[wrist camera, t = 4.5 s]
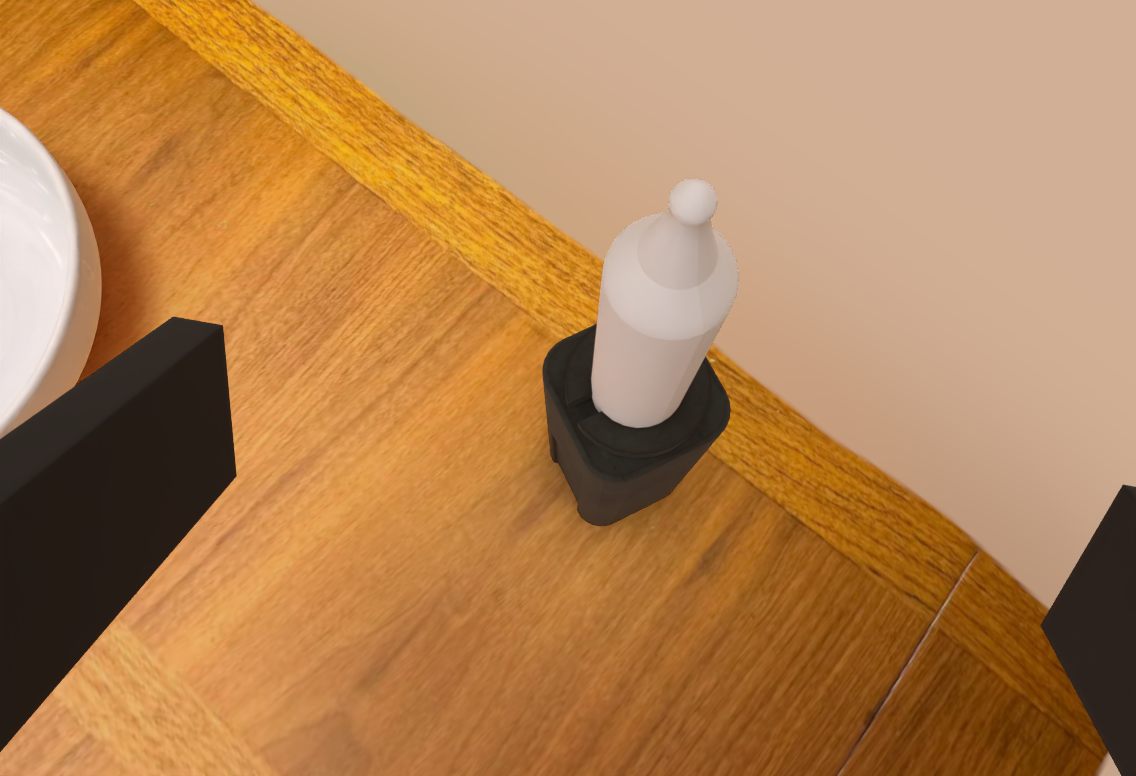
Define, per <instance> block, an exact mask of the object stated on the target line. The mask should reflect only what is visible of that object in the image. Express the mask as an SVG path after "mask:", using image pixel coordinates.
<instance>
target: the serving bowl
mask: <svg viewBox="0 0 1136 776" xmlns="http://www.w3.org/2000/svg"><path fill="white" fill-rule="evenodd" d="M101 295H102V278H101V266H100V257H99V251H98V246H97V242H96V239H95V235H94V231H93V228H92V225H91V222H90V220H89V217H88V214H87V212H86V210H85V207H84V205H83V203H82V201H81V199H80V197H79V195H78V193H77V191H76V189H75V188H74V186H73V184H72V183H71V181H70V179H69V178H68V176H67V175H66V173H65V172H64V170H63V169H62V168H61V166H60V165H59V164H58V162H57V161H56V160H55V158H54V157H53V156H52V155H51V153H50V152H49V151H48V149H47V148H46V147H45V146H44V144H43V143H42V142H41V141H40V140H39V139H38V138H37V137H36V136H35V135H34V134H33V133H32V132H31V131H30V130H29V129H28V128H27V127H26V126H25V125H24V124H23V123H21V122H20V121H19V120H17V119H16V118H15V117H14V116H12V115H11V114H9V113H8V112H6V111H5V110H4V109H2V108H1V107H0V439H1V438H2V437H4V436H5V435H7V434H8V433H9V432H11V431H12V430H14V429H15V428H16V427H18V426H19V425H21V424H22V423H24V422H25V421H26V420H28V419H29V418H31V417H32V416H33V415H35V414H36V413H38V412H39V411H40V410H42V409H43V408H45V407H46V406H48V405H49V404H50V403H52V402H53V401H55V400H56V399H57V398H59V397H60V396H62V395H63V394H65V393H66V392H67V391H69V390H70V389H72V388H73V387H74V386H75V385H76V383H77V381H78V379H79V377H80V375H81V373H82V371H83V368H84V366H85V364H86V362H87V359H88V356H89V354H90V351H91V348H92V345H93V341H94V338H95V334H96V330H97V326H98V321H99V315H100V306H101Z"/></svg>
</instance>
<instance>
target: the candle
mask: <svg viewBox="0 0 1136 776" xmlns="http://www.w3.org/2000/svg"><path fill="white" fill-rule="evenodd" d="M717 203H718V202H717V196H716V193H715V191H714V189H713V188H712V187H711V185H709V184H708V183H707V182H705V181H703V180H701V179H687V180H683V181H682V182H680V183H679V184H677V185H676V186H675V187H674V188H673V190H672V192H671V194H670V197H669V208H668V209H667V210H666V211H665V212H664V213H656V214H653V215H649V216H646V217H643V218H640V219H638V220H637V221H635V222H633V223H632V224H630V225H628V226H627V227H626V228H625V229H624V230H623V231H622V232H621V233H620V234H619V235H618V236H617V237H616V239H615V240H614V241H613V243H612V245H611V247H610V249H609V250H608V252H607V254H606V257H605V261H604V266H603V271H602V280H601V290H600V299H599V309H598V318H597V324H595V325H593V326H591V327H589V328H587V329H585V330H582V331H580V332H578V333H576V334H574V335H572V336H570V337H567V338H565V339H563V340H562V341H560V342H558V343H557V344H555V345H554V346H553V347H552V349H551V350H550V351H549V352H548V354H547V356H546V358H545V360H544V364H543V382H544V393H545V403H546V413H547V423H548V433H549V443H550V453H551V457H552V460H553V462H557V463H559V465H560V467H561V469H562V471H563V473H564V475H565V477H566V479H567V481H568V483H569V485H570V487H571V489H572V491H573V493H574V495H575V497H576V499H577V501H578V509H577V510H578V512H579V514H580V515H581V517H582V518H583V519H584V520H585V521H587V522H588V523H590V524H592V525H597V526H607V525H610V524H613V523H615V522H617V521H619V520H621V519H623V518H625V517H627V516H629V515H631V514H633V513H635V512H637V511H639V510H641V509H643V508H645V507H647V506H649V505H651V504H653V503H655V502H657V501H659V500H661V499H663V498H665V497H666V496H668V495H669V494H670V493H671V492H672V491H673V490H674V488H675V487H676V486H677V485H678V484H679V482H680V481H681V480H682V479H683V478H684V477H685V475H686V474H687V473H688V472H689V471H690V469H691V468H692V467H693V466H694V465H695V464H696V462H697V461H698V460H699V459H700V458H701V456H702V455H703V454H704V453H705V452H706V451H707V449H708V448H709V447H710V446H711V445H712V443H713V442H714V441H715V440H716V439H717V438H718V436H719V435H720V434H721V433H722V432H723V430H724V429H725V428H726V426H727V424H728V421H729V418H730V411H731V410H730V402H729V399H728V396H727V394H726V391H725V390H724V388H723V386H722V384H721V383H720V381H719V379H718V377H717V375H716V374H715V372H714V370H713V368H712V367H711V365H710V363H709V361H708V360H707V358H706V354H707V352H708V351H709V349H710V347H711V345H712V343H713V341H714V339H715V337H716V336H717V334H718V332H719V330H720V328H721V326H722V324H723V322H724V321H725V319H726V317H727V315H728V313H729V311H730V309H731V307H732V305H733V303H734V300H735V298H736V295H737V289H738V282H739V275H738V267H737V261H736V258H735V256H734V254H733V251H732V249H731V246H730V245H729V243H728V242H727V241H726V240H725V239H724V237H723V236H722V235H721V234H720V232H719V231H717V230H716V229H714V228H713V227H712V225H711V221H710V219H711V217H713V215H714V213H715V211H716V208H717Z"/></svg>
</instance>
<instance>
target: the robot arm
mask: <svg viewBox="0 0 1136 776" xmlns="http://www.w3.org/2000/svg"><path fill="white" fill-rule="evenodd" d="M235 477H236V465H235V454H234V443H233V432H232V421H231V410H230V399H229V387H228V376H227V365H226V354H225V343H224V332H223V325H218V324H212V323H206V322H201V321H195V320H189V319H184V318H178V317H172V318H171V319H169V320H168V321H166V322H165V323H163V324H162V325H161V326H159V327H158V328H156V329H155V330H154V331H152V332H151V333H149V334H148V335H146V336H145V337H144V338H142V339H141V340H139V341H138V342H137V343H135V344H134V345H132V346H131V347H130V348H128V349H127V350H125V351H124V352H122V353H121V354H120V355H118V356H117V357H115V358H114V359H113V360H111V361H110V362H108V363H107V364H106V365H104V366H103V367H101V368H100V369H98V370H97V371H96V372H94V373H93V374H91V375H90V376H89V377H87V378H86V379H84V380H83V381H81V382H80V383H79V384H77V385H76V386H74V387H73V388H72V389H70V390H69V391H67V392H66V393H65V394H63V395H62V396H60V397H59V398H57V399H56V400H55V401H53V402H52V403H50V404H49V405H48V406H46V407H45V408H43V409H42V410H40V411H39V412H38V413H36V414H35V415H33V416H32V417H31V418H29V419H28V420H26V421H25V422H24V423H22V424H21V425H19V426H18V427H16V428H15V429H14V430H12V431H11V432H9V433H8V434H7V435H5V436H4V437H2V438H1V439H0V752H1V751H2V749H3V748H4V747H5V746H6V745H7V744H8V742H9V741H10V740H11V739H12V738H13V737H14V735H15V734H16V733H17V732H18V731H19V730H20V728H21V727H22V726H23V725H24V724H25V723H26V721H27V720H28V719H29V718H30V717H31V716H32V714H33V713H34V712H35V711H36V710H37V709H38V707H39V706H40V705H41V704H42V703H43V702H44V700H45V699H46V698H47V697H48V696H49V695H50V693H51V692H52V691H53V690H54V689H55V688H56V686H57V685H58V684H59V683H60V682H61V681H62V679H63V678H64V677H65V676H66V675H67V674H68V672H69V671H70V670H71V669H72V668H73V667H74V665H75V664H76V663H77V662H78V661H79V660H80V658H81V657H82V656H83V655H84V654H85V653H86V651H87V650H88V649H89V648H90V647H91V646H92V644H93V643H94V642H95V641H96V640H97V638H98V637H99V636H100V635H101V634H102V633H103V631H104V630H105V629H106V628H107V627H108V626H109V624H110V623H111V622H112V621H113V620H114V619H115V617H116V616H117V615H118V614H119V613H120V612H121V610H122V609H123V608H124V607H125V606H126V605H127V603H128V602H129V601H130V600H131V599H132V598H133V596H134V595H135V594H136V593H137V592H138V591H139V589H140V588H141V587H142V586H143V585H144V584H145V582H146V581H147V580H148V579H149V578H150V577H151V575H152V574H153V573H154V572H155V571H156V570H157V568H158V567H159V566H160V565H161V564H162V563H163V561H164V560H165V559H166V558H167V557H168V556H169V554H170V553H171V552H172V551H173V550H174V549H175V547H176V546H177V545H178V544H179V543H180V542H181V540H182V539H183V538H184V537H185V536H186V535H187V533H188V532H189V531H190V530H191V529H192V528H193V526H194V525H195V524H196V523H197V522H198V521H199V519H200V518H201V517H202V516H203V515H204V514H205V512H206V511H207V510H208V509H209V508H210V507H211V505H212V504H213V503H214V502H215V501H216V500H217V498H218V497H219V496H220V495H221V494H222V493H223V491H224V490H225V489H226V488H227V487H228V486H229V484H230V483H231V482H232V481H233V480H234V478H235ZM1040 626H1041V627H1042V629H1043V631H1044V633H1045V635H1046V637H1047V639H1048V640H1049V642H1050V644H1051V646H1052V648H1053V650H1054V652H1055V653H1056V655H1057V657H1058V659H1059V661H1060V663H1061V664H1062V666H1063V668H1064V670H1065V672H1066V674H1067V676H1068V677H1069V679H1070V681H1071V683H1072V685H1073V687H1074V689H1075V690H1076V692H1077V694H1078V696H1079V698H1080V700H1081V702H1082V703H1083V705H1084V707H1085V709H1086V711H1087V713H1088V715H1089V716H1090V718H1091V720H1092V722H1093V724H1094V726H1095V728H1096V729H1097V731H1098V733H1099V735H1100V737H1101V739H1102V741H1103V742H1104V744H1105V746H1106V748H1107V750H1108V752H1109V754H1110V755H1111V757H1112V759H1113V761H1114V763H1115V765H1116V767H1117V768H1118V770H1119V772H1120V774H1121V776H1136V487H1133V486H1127V485H1123V486H1122V488H1121V489H1120V491H1119V492H1118V494H1117V496H1116V497H1115V499H1114V501H1113V503H1112V504H1111V506H1110V508H1109V509H1108V511H1107V513H1106V514H1105V516H1104V518H1103V520H1102V521H1101V523H1100V525H1099V527H1098V528H1097V530H1096V532H1095V534H1094V535H1093V537H1092V538H1091V540H1090V542H1089V544H1088V545H1087V547H1086V549H1085V550H1084V552H1083V554H1082V556H1081V557H1080V559H1079V561H1078V562H1077V564H1076V566H1075V568H1074V569H1073V571H1072V573H1071V574H1070V576H1069V578H1068V579H1067V581H1066V583H1065V585H1064V586H1063V588H1062V590H1061V591H1060V593H1059V595H1058V597H1057V598H1056V600H1055V602H1054V603H1053V605H1052V607H1051V608H1050V610H1049V612H1048V613H1047V615H1046V617H1045V619H1044V620H1043V622H1042V624H1041V625H1040Z"/></svg>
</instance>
